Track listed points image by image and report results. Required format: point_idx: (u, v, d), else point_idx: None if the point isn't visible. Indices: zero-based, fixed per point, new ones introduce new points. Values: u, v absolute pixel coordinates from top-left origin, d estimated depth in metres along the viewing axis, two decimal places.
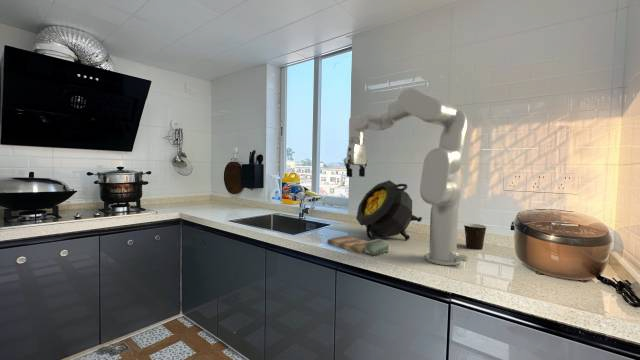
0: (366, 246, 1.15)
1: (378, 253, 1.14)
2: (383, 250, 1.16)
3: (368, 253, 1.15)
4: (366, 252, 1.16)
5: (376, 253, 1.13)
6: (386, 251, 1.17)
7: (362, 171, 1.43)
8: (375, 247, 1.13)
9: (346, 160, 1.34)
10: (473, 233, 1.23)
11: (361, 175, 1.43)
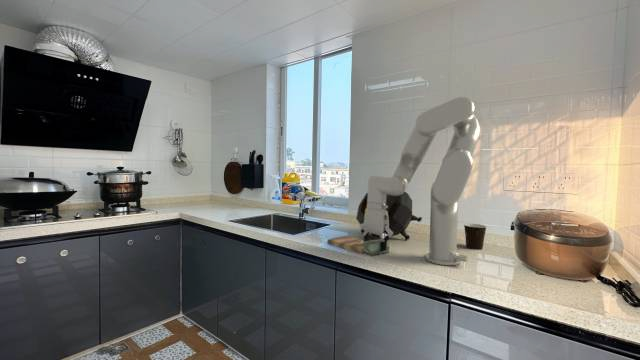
0: (365, 245, 1.16)
1: (376, 253, 1.14)
2: None
3: (367, 252, 1.16)
4: (365, 251, 1.16)
5: (374, 253, 1.13)
6: (386, 252, 1.16)
7: (368, 239, 1.21)
8: (373, 247, 1.13)
9: None
10: (473, 233, 1.23)
11: None
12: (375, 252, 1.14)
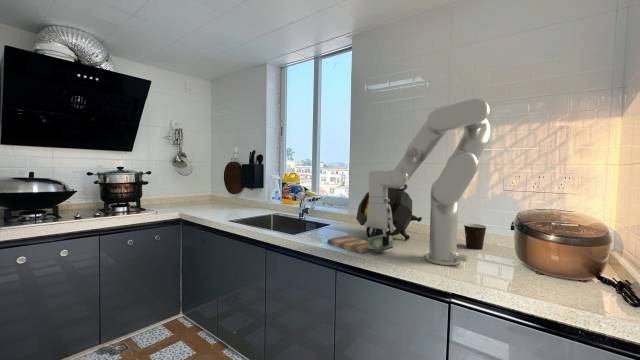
0: (369, 242, 1.16)
1: (382, 248, 1.14)
2: None
3: (372, 249, 1.15)
4: (370, 248, 1.16)
5: (379, 248, 1.13)
6: (390, 246, 1.17)
7: None
8: (378, 242, 1.13)
9: None
10: (473, 233, 1.23)
11: None
12: (380, 247, 1.13)
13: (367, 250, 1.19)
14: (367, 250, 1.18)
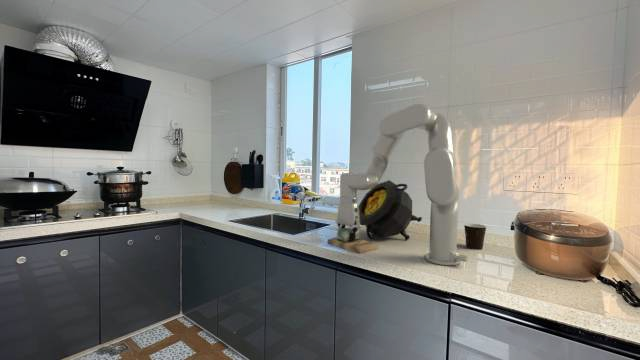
0: (338, 233, 1.28)
1: (348, 239, 1.26)
2: None
3: (340, 239, 1.27)
4: (338, 238, 1.28)
5: (346, 239, 1.26)
6: (357, 238, 1.29)
7: None
8: (345, 234, 1.25)
9: None
10: (473, 233, 1.23)
11: None
12: (347, 238, 1.26)
13: (367, 250, 1.19)
14: (367, 250, 1.18)
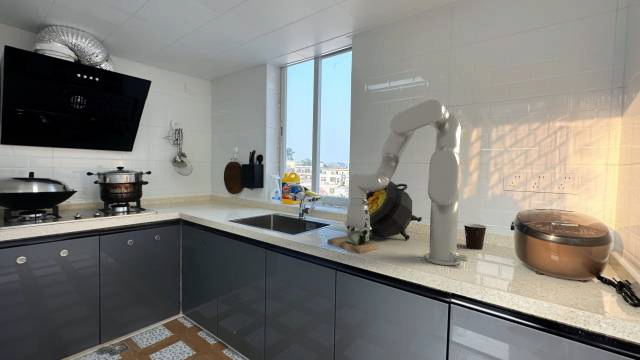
0: (348, 235, 1.24)
1: None
2: None
3: (350, 242, 1.23)
4: (348, 241, 1.24)
5: (357, 242, 1.21)
6: (367, 240, 1.25)
7: None
8: (356, 236, 1.21)
9: None
10: (473, 233, 1.23)
11: None
12: (358, 241, 1.22)
13: (367, 250, 1.19)
14: (367, 250, 1.18)
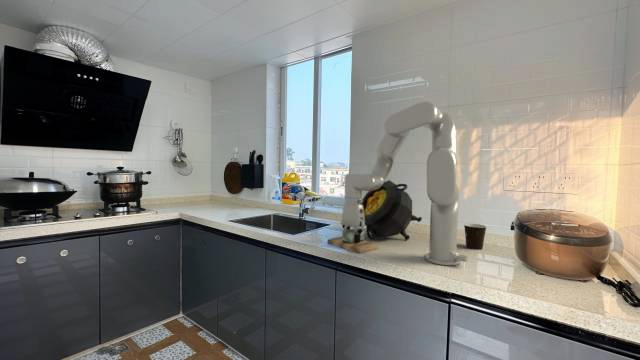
0: (343, 234, 1.26)
1: (354, 240, 1.24)
2: None
3: (345, 241, 1.25)
4: (343, 240, 1.26)
5: (352, 240, 1.23)
6: (362, 239, 1.28)
7: None
8: (351, 235, 1.23)
9: None
10: (473, 233, 1.23)
11: None
12: (353, 240, 1.24)
13: (367, 250, 1.19)
14: (367, 250, 1.18)
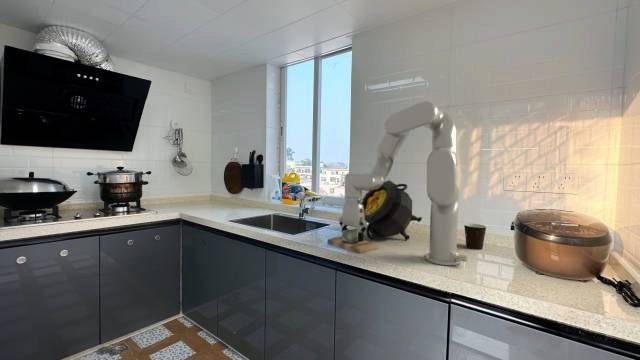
0: (343, 234, 1.26)
1: (354, 241, 1.24)
2: None
3: (345, 241, 1.25)
4: (343, 240, 1.26)
5: (352, 241, 1.23)
6: None
7: None
8: (351, 235, 1.23)
9: None
10: (473, 233, 1.23)
11: None
12: (353, 240, 1.24)
13: (367, 250, 1.19)
14: (367, 250, 1.18)
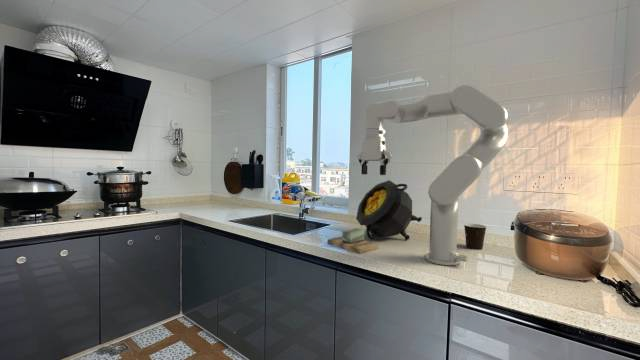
0: (343, 234, 1.26)
1: (354, 241, 1.24)
2: (358, 238, 1.26)
3: (345, 241, 1.25)
4: (343, 240, 1.26)
5: (352, 241, 1.23)
6: (362, 239, 1.28)
7: (366, 168, 1.24)
8: (351, 235, 1.23)
9: None
10: (473, 233, 1.23)
11: (365, 173, 1.23)
12: (353, 240, 1.24)
13: (367, 250, 1.19)
14: (367, 250, 1.18)
